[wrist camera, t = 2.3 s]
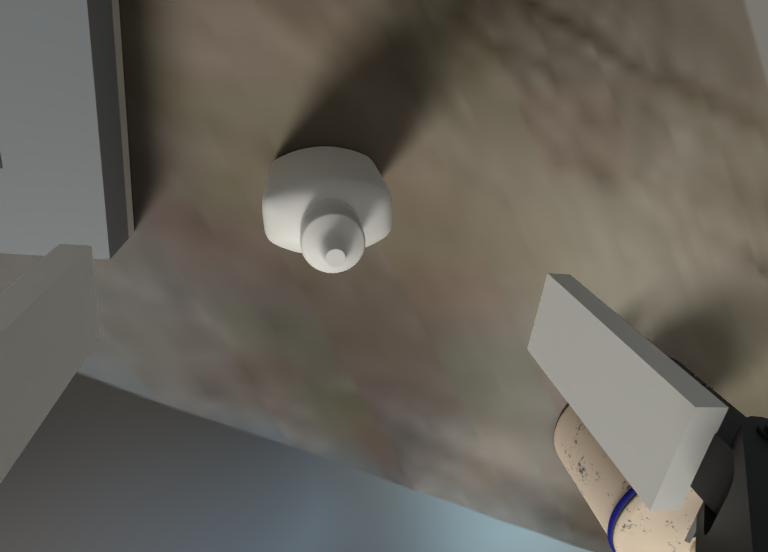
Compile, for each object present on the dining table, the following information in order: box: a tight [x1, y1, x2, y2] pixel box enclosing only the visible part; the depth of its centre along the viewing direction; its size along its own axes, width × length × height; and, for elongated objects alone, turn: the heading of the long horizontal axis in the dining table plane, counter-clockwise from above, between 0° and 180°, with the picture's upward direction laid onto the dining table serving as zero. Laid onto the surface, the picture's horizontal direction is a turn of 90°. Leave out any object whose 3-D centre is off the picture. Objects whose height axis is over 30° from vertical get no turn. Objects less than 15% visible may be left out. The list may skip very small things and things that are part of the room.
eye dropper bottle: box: [262, 146, 392, 273], centre depth 23 cm, size 4×6×12 cm
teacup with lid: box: [554, 405, 703, 552], centre depth 34 cm, size 12×9×12 cm
